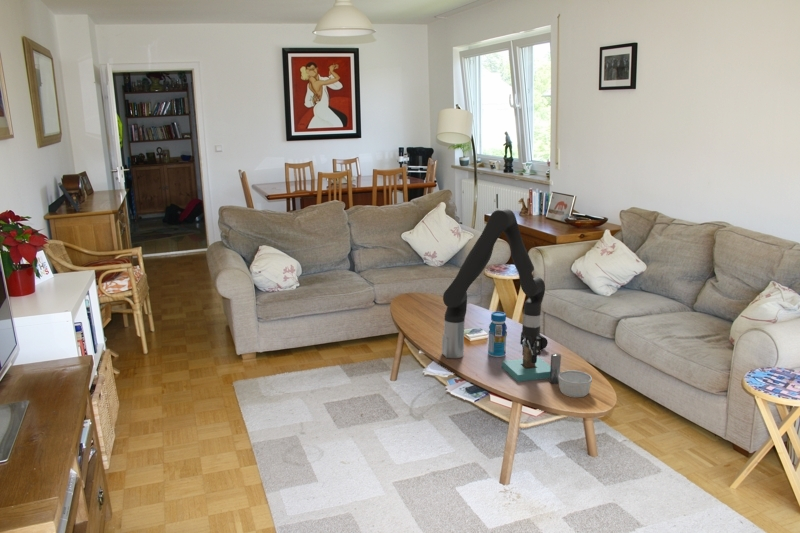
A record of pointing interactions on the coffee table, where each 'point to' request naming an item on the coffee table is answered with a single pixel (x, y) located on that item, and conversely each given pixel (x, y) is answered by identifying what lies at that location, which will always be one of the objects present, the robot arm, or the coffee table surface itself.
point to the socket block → (526, 370)
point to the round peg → (555, 368)
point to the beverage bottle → (497, 335)
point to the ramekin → (574, 383)
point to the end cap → (542, 341)
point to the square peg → (527, 358)
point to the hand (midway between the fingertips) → (529, 359)
